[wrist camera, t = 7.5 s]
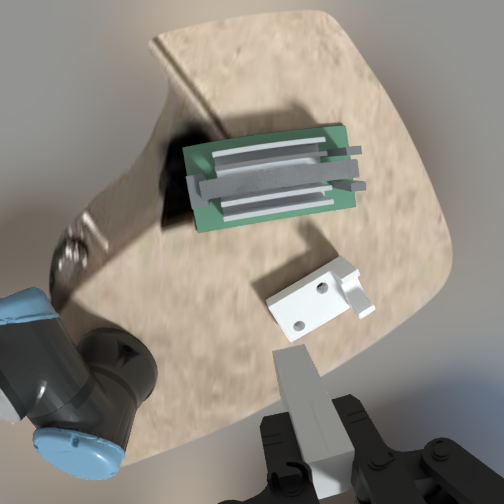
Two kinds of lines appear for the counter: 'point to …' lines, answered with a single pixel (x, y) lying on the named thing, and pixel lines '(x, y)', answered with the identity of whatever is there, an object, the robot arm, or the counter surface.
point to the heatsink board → (266, 158)
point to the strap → (278, 178)
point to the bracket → (319, 298)
